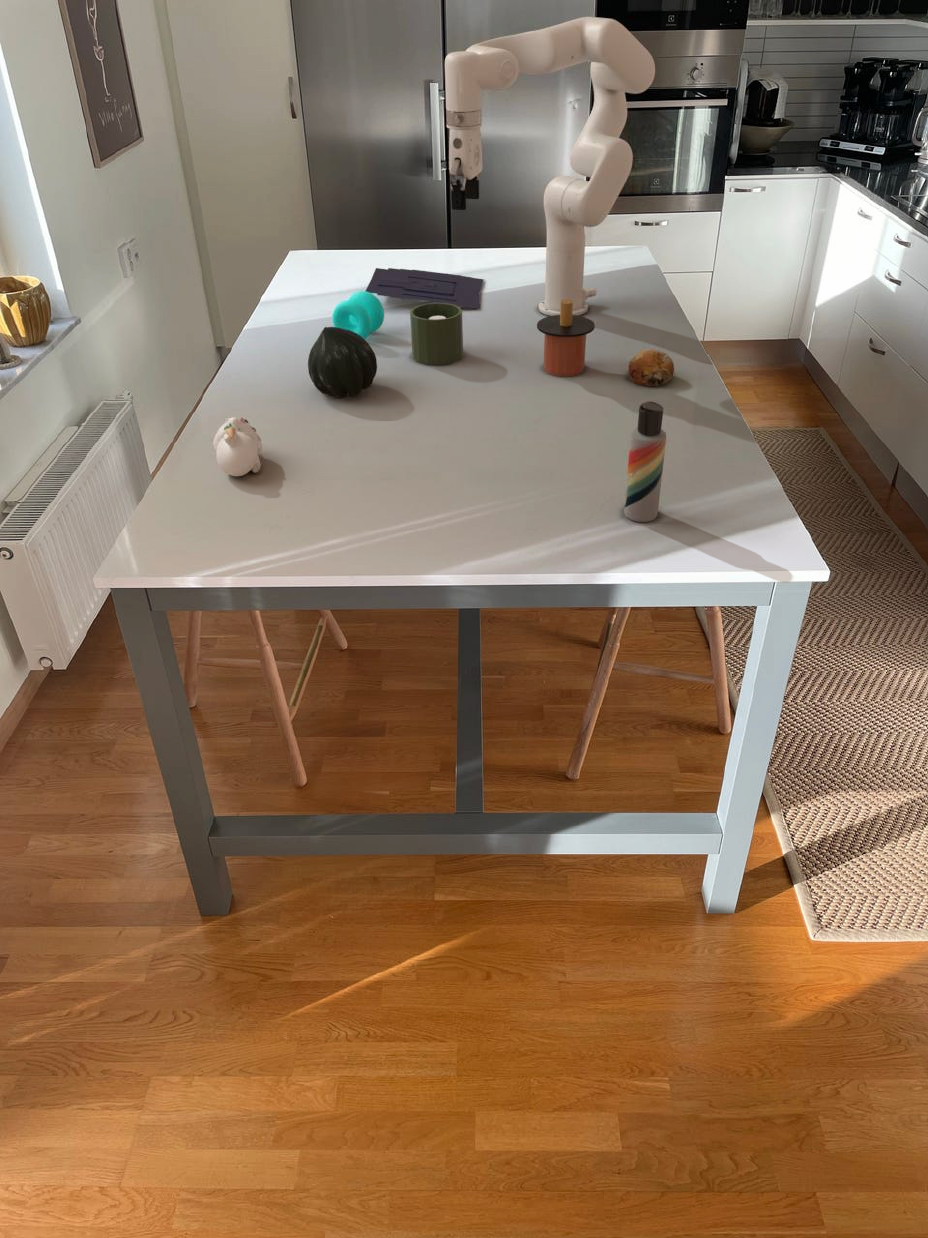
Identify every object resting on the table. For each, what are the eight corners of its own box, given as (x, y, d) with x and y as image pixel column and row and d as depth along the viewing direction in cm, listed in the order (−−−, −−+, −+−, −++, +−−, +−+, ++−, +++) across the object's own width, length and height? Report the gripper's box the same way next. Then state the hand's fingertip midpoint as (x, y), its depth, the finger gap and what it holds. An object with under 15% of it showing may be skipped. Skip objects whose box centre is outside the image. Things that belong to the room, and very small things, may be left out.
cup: (566, 357, 220) (568, 319, 215) (592, 369, 214) (594, 330, 209) (535, 367, 216) (536, 328, 210) (561, 379, 210) (563, 339, 204)
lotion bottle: (620, 506, 165) (629, 398, 153) (653, 504, 166) (664, 396, 154) (627, 523, 161) (638, 413, 149) (661, 521, 161) (674, 411, 149)
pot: (444, 342, 229) (442, 299, 223) (472, 357, 221) (471, 312, 215) (403, 354, 224) (400, 309, 218) (431, 369, 216) (428, 323, 210)
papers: (376, 275, 268) (377, 262, 265) (482, 288, 268) (484, 275, 266) (363, 304, 248) (363, 290, 246) (477, 318, 248) (479, 304, 246)
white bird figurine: (237, 437, 169) (233, 395, 179) (202, 462, 171) (199, 418, 181) (272, 472, 175) (265, 429, 186) (237, 496, 177) (233, 452, 188)
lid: (568, 315, 216) (570, 288, 213) (606, 330, 208) (608, 302, 204) (525, 327, 211) (525, 300, 207) (562, 344, 202) (563, 315, 199)
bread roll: (673, 390, 213) (679, 353, 211) (668, 388, 203) (674, 349, 201) (629, 385, 215) (634, 349, 214) (622, 382, 206) (628, 344, 204)
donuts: (332, 341, 231) (328, 300, 225) (351, 327, 239) (347, 287, 233) (369, 346, 228) (366, 304, 222) (387, 332, 236) (384, 291, 230)
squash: (400, 360, 206) (354, 303, 203) (366, 389, 196) (317, 330, 192) (362, 393, 216) (317, 339, 212) (327, 422, 206) (280, 366, 202)
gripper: (468, 126, 197) (470, 214, 207) (492, 112, 210) (492, 195, 220) (434, 125, 198) (437, 212, 209) (459, 111, 212) (461, 193, 222)
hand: (465, 203), depth 214 cm, fingers open, 9 cm apart
